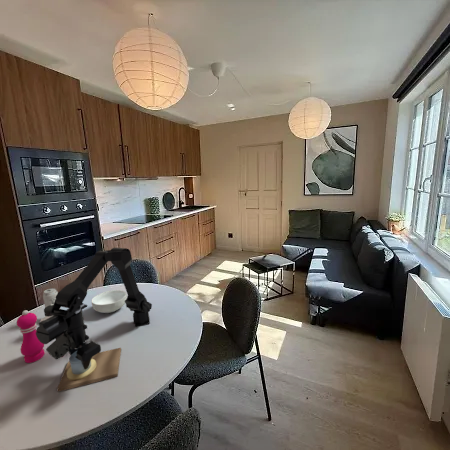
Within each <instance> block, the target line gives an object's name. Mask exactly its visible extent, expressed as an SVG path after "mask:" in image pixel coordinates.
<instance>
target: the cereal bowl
mask: <svg viewBox="0 0 450 450" xmlns="http://www.w3.org/2000/svg"><path fill="white" fill-rule="evenodd" d="M127 296H128V294H127V291H124V290H120V289H115V290H108V291H104V292H102V293H101V292H100V293H98V294H97V295H95V296H94V297H93V298H91V305H92V308H93V310H95V311H96V312H97V313H105V314H109V313H114V312H115V311H117V310H119V309H121V308H122V307H124V305H126V303H125V300H126V299H127Z"/></svg>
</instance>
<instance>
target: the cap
mask: <svg viewBox="0 0 450 450" xmlns="http://www.w3.org/2000/svg"><path fill="white" fill-rule="evenodd" d="M76 353H77V351H76V352H74V353H73V354H72V355H69V357H68V361H69V362H70V364H71V369H72V373H73V374H81V373H84V372H86V371H87V370H88V369H89V368H90V367H91V361H90V364H89V367H88V368H87V369H84V367H83V365H82V362H81V360H78V359H77V358H75V357H76V356H77V354H76Z"/></svg>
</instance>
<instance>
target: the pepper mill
mask: <svg viewBox="0 0 450 450" xmlns="http://www.w3.org/2000/svg"><path fill="white" fill-rule="evenodd" d="M37 320H38V316H37V315H36V313H34V312H29V311H28V310H23V311H22V314H21V315H19V317H18V318H17V319H16V325H17V327H18V328H19V330H20V333H21V334H22V343H21V345H20V353H21V355H22V356H23V359H24V362H25V363H26V364H32V363H35V362H37V361H39V360H41V359H42V358H44V356H45V354H46V353H45V349H44V347H45V344H43V343H41V342H40V341H39V340H38V338H37V336H36V330H37V328H38V325H37V324H38V323H37Z"/></svg>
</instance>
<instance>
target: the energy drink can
mask: <svg viewBox="0 0 450 450" xmlns="http://www.w3.org/2000/svg"><path fill="white" fill-rule="evenodd" d="M57 294H58V290H57V288H48V289H46V290H44V291H43V294H42V299H43V304H44V309H45V308H46V307H47V306H49V305H52V304H54V302H55V300H56V295H57ZM60 309H62V307H61V308H60Z"/></svg>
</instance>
